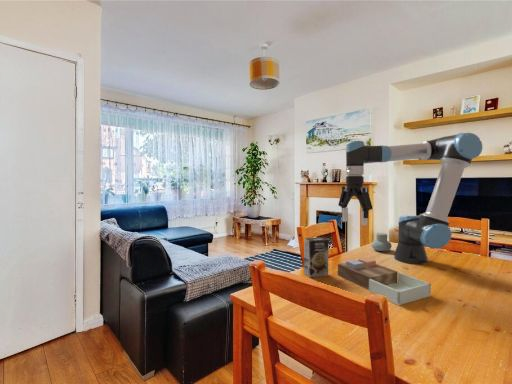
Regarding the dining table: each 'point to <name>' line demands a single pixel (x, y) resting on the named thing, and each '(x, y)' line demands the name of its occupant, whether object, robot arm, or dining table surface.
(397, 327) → the dining table surface
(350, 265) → the slate tile
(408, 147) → the robot arm
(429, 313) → the dining table surface
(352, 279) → the board
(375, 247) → the air freshener
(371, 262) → the terracotta tile
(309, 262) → the coffee box
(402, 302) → the tray
